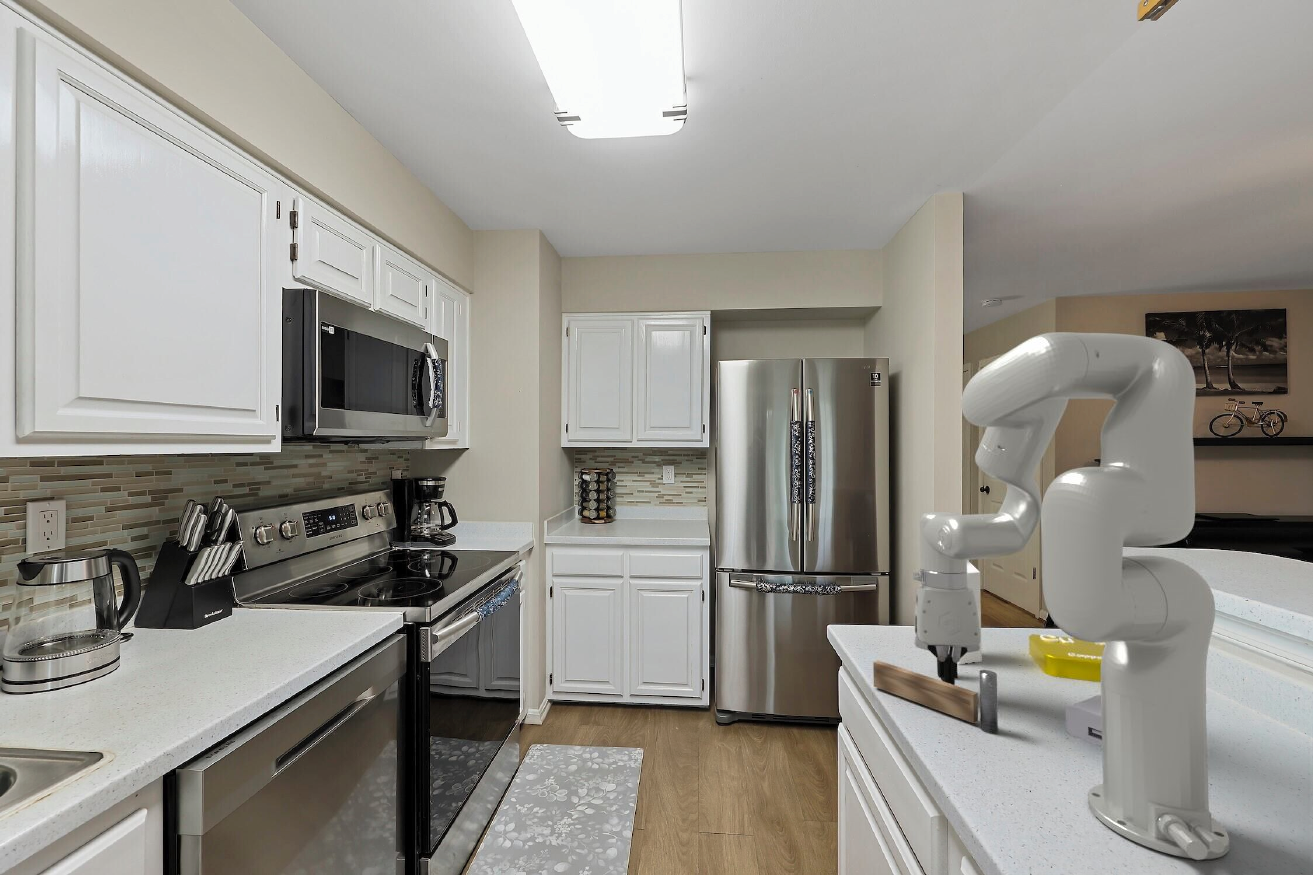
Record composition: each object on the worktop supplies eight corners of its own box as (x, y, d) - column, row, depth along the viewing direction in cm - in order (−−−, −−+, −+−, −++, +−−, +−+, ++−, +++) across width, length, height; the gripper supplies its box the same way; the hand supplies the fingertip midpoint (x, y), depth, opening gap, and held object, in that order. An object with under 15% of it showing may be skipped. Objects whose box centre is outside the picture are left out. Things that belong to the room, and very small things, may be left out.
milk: (981, 662, 120) (981, 557, 120) (958, 665, 118) (957, 558, 118) (959, 652, 125) (958, 552, 126) (936, 654, 124) (935, 553, 124)
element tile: (1046, 677, 112) (1045, 653, 112) (1026, 652, 126) (1026, 630, 126) (1140, 688, 107) (1139, 663, 107) (1109, 661, 121) (1108, 638, 121)
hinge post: (1000, 734, 89) (999, 676, 89) (983, 732, 90) (982, 675, 90) (994, 726, 91) (993, 670, 92) (978, 725, 92) (977, 669, 92)
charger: (1184, 737, 88) (1137, 762, 81) (1114, 713, 97) (1066, 734, 90) (1183, 706, 88) (1136, 728, 82) (1113, 685, 97) (1065, 703, 90)
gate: (978, 720, 93) (977, 692, 93) (973, 723, 92) (973, 695, 92) (878, 684, 107) (878, 660, 107) (873, 686, 106) (873, 661, 106)
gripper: (905, 582, 102) (908, 686, 101) (996, 585, 99) (1000, 693, 98) (896, 574, 109) (899, 671, 108) (981, 577, 106) (985, 677, 105)
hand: (947, 681), depth 103 cm, fingers closed
